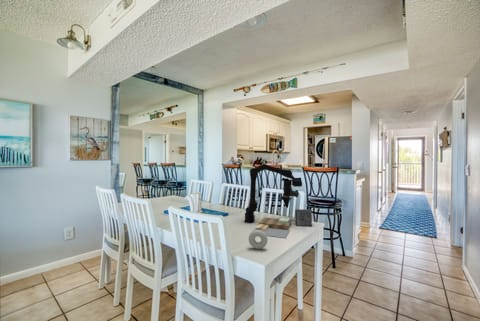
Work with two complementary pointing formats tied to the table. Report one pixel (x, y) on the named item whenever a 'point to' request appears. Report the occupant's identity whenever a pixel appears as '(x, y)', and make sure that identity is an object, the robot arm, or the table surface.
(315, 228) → the table surface
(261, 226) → the maple tile
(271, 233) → the mat
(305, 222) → the small box
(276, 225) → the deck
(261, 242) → the donut
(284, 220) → the sage tile
